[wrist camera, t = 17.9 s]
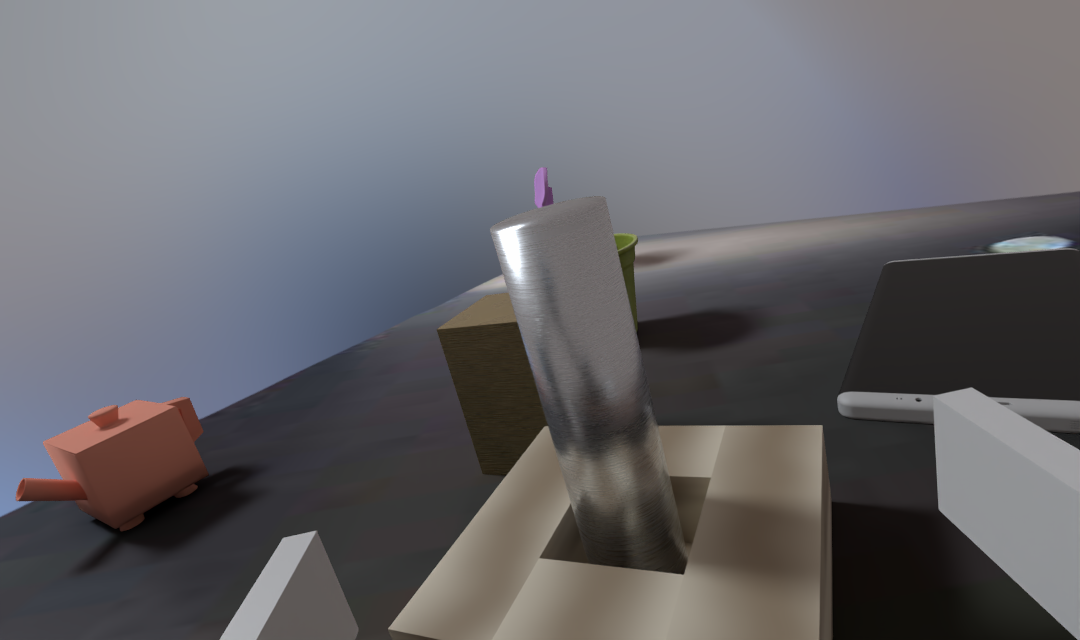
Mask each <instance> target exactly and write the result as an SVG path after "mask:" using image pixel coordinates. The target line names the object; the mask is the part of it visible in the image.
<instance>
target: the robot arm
mask: <svg viewBox="0 0 1080 640" xmlns="http://www.w3.org/2000/svg"><path fill="white" fill-rule="evenodd" d="M933 408H934V427H935V447H936V466H937V485H938V504H939V510H940V511H941V512H942V513H943V514H944V515H945V516H946V517H947V518H948V519H949V520H950V521H951V522H952V523H953V524H955V525H956V526H957V527H958V528H959V529H960V530H961V531H962V532H963V533H964V534H965V535H966V536H967V537H968V538H970V539H971V540H972V541H973V542H974V543H975V544H976V545H977V546H978V547H979V548H980V549H981V550H982V551H983V552H985V553H986V554H987V555H988V556H989V557H990V558H991V559H992V560H993V561H994V562H995V563H996V564H997V565H998V566H999V567H1001V568H1002V569H1003V570H1004V571H1005V572H1006V573H1007V574H1008V575H1009V576H1010V577H1011V578H1012V579H1013V580H1014V581H1016V582H1017V583H1018V584H1019V585H1020V586H1021V587H1022V588H1023V589H1024V590H1025V591H1026V592H1027V593H1028V594H1029V595H1031V596H1032V597H1033V598H1034V599H1035V600H1036V601H1037V602H1038V603H1039V604H1040V605H1041V606H1042V607H1043V608H1044V609H1046V610H1047V611H1048V612H1049V613H1050V614H1051V615H1052V616H1053V617H1054V618H1055V619H1056V620H1057V621H1058V622H1059V623H1060V624H1062V625H1063V626H1064V627H1065V628H1066V629H1067V630H1068V631H1069V632H1070V633H1071V634H1072V635H1073V636H1074V637H1075V638H1077V639H1078V640H1080V450H1078V449H1077V448H1075V447H1073V446H1071V445H1070V444H1068V443H1066V442H1065V441H1063V440H1061V439H1059V438H1058V437H1056V436H1054V435H1052V434H1051V433H1049V432H1047V431H1046V430H1044V429H1042V428H1040V427H1039V426H1037V425H1035V424H1034V423H1032V422H1030V421H1028V420H1027V419H1025V418H1023V417H1022V416H1020V415H1018V414H1016V413H1015V412H1013V411H1011V410H1010V409H1008V408H1006V407H1004V406H1003V405H1001V404H999V403H998V402H996V401H994V400H992V399H991V398H989V397H987V396H986V395H984V394H982V393H980V392H979V391H977V390H975V389H974V388H972V387H971V388H967V389H962V390H957V391H953V392H948V393H944V394H939V395H935V396H933ZM358 630H359V629H358V626H357V624H356V622H355V619H354V617H353V615H352V612H351V610H350V608H349V605H348V603H347V601H346V598H345V596H344V594H343V591H342V589H341V587H340V584H339V582H338V580H337V577H336V575H335V572H334V570H333V568H332V565H331V563H330V561H329V558H328V556H327V554H326V551H325V549H324V547H323V544H322V542H321V540H320V537H319V535H318V533H317V531H313V532H308V533H304V534H299V535H295V536H290V537H286V538H283V539H282V541H281V542H280V544H279V546H278V547H277V549H276V550H275V552H274V554H273V555H272V557H271V558H270V560H269V562H268V563H267V565H266V566H265V568H264V570H263V571H262V573H261V574H260V576H259V578H258V579H257V581H256V582H255V584H254V586H253V587H252V589H251V590H250V592H249V594H248V595H247V597H246V598H245V600H244V602H243V603H242V605H241V606H240V608H239V610H238V611H237V613H236V614H235V616H234V618H233V619H232V621H231V622H230V624H229V625H228V627H227V629H226V630H225V632H224V633H223V635H222V637H221V638H220V640H355V638H356V635H357V633H358Z"/></svg>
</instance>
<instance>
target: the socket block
mask: <svg viewBox="0 0 1080 640" xmlns="http://www.w3.org/2000/svg"><path fill="white" fill-rule="evenodd" d="M658 429H659V433H660V437H661V442H662V446H663V450H664V455H665V459H666V463H667V468H668V472H669V476H670V481H671V485H672V489H673V494H674V498H675V502H676V507H677V511H678V515H679V520H680V524H681V528H682V533H683V537H684V541H685V546H686V550H687V554H688V562H687V566H686V569H685V573H684V575H682V574H673V573H664V572H656V571H647V570H638V569H629V568H621V567H612V566H603V565H594V564H589V563H588V560H587V556H586V553H585V549H584V546H583V543H582V539H581V536H580V532H579V529H578V526H577V522H576V519H575V516H574V512H573V509H572V505H571V502H570V499H569V495H568V492H567V488H566V485H565V482H564V478H563V475H562V472H561V468H560V465H559V461H558V458H557V455H556V451H555V448H554V444H553V441H552V438H551V434H550V431H549V428H548V426H544V428H543V429H542V430H541V432H540V433H539V434H538V435H537V437H536V438H535V439H534V441H533V442H532V443H531V444H530V446H529V447H528V448H527V450H526V451H525V452H524V454H523V455H522V456H521V457H520V459H519V460H518V461H517V463H516V464H515V465H514V467H513V468H512V469H511V470H510V472H509V473H508V474H507V476H506V477H505V478H504V479H503V481H502V482H501V483H500V485H499V486H498V487H497V489H496V490H495V491H494V492H493V494H492V495H491V496H490V498H489V499H488V500H487V501H486V503H485V504H484V505H483V507H482V508H481V509H480V511H479V512H478V513H477V514H476V516H475V517H474V518H473V520H472V521H471V522H470V523H469V525H468V526H467V527H466V529H465V530H464V531H463V533H462V534H461V535H460V536H459V538H458V539H457V540H456V542H455V543H454V544H453V545H452V547H451V548H450V549H449V551H448V552H447V553H446V555H445V556H444V557H443V558H442V560H441V561H440V562H439V564H438V565H437V566H436V568H435V569H434V570H433V571H432V573H431V574H430V575H429V577H428V578H427V579H426V580H425V582H424V583H423V584H422V586H421V587H420V588H419V590H418V591H417V592H416V593H415V595H414V596H413V597H412V599H411V600H410V601H409V602H408V604H407V605H406V606H405V608H404V609H403V610H402V612H401V613H400V614H399V615H398V617H397V618H396V619H395V621H394V622H393V623H392V624H391V626H390V627H389V628H388V630H389V633H390V635H391V638H392V640H833V615H832V500H831V492H830V484H829V476H828V468H827V459H826V451H825V443H824V435H823V427H822V425H780V426H658Z"/></svg>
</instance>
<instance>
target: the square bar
mask: <svg viewBox="0 0 1080 640" xmlns="http://www.w3.org/2000/svg"><path fill="white" fill-rule="evenodd" d="M437 332H438V335H439V338H440V342H441V345H442V348H443V351H444V354H445V357H446V360H447V363H448V367H449V370H450V373H451V376H452V379H453V382H454V385H455V388H456V392H457V395H458V398H459V401H460V404H461V407H462V410H463V413H464V417H465V420H466V423H467V426H468V429H469V432H470V435H471V438H472V442H473V445H474V448H475V451H476V454H477V457H478V460H479V463H480V467H481V470H482V473H483V474H494V475H507V474H508V473H509V472H510V470H511V469H512V468H513V467H514V465H515V464H516V463H517V461H518V460H519V459H520V457H521V456H522V455H523V454H524V452H525V451H526V450H527V448H528V447H529V446H530V444H531V443H532V442H533V441H534V439H535V438H536V437H537V435H538V434H539V433H540V432H541V430H542V429H543V428H544V426H548V424H547V421H546V417H545V414H544V411H543V407H542V404H541V400H540V397H539V394H538V390H537V387H536V384H535V380H534V377H533V373H532V370H531V367H530V363H529V360H528V356H527V353H526V350H525V346H524V343H523V340H522V336H521V333H520V329H519V326H518V323H517V319H516V316H515V312H514V309H513V306H512V302H511V299H510V296H509V293H502V294H494V295H486V296H485V297H483V298H482V299H480V300H479V301H477V302H476V303H474V304H473V305H471V306H470V307H469V308H467V309H466V310H464V311H463V312H461V313H460V314H458V315H457V316H456V317H454V318H453V319H451V320H450V321H448V322H447V323H445V324H444V325H443V326H441V327H440V328H438V329H437Z"/></svg>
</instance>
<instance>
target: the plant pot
mask: <svg viewBox="0 0 1080 640" xmlns="http://www.w3.org/2000/svg"><path fill="white" fill-rule="evenodd" d="M614 238H615V242H616V247H617V251H618V255H619V260H620V264H621V268H622V273H623V277H624V281H625V286H626V290H627V294H628V299H629V303H630V307H631V312H632V316H633V320H634V325H635V329H636V332H637V330H638V325H637V311H636V297H635V283H634V266H633V262H634V260H635V245H636V244H637V242H638V238H637V236H636V235H634V234H626V233H625V234H614Z"/></svg>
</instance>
